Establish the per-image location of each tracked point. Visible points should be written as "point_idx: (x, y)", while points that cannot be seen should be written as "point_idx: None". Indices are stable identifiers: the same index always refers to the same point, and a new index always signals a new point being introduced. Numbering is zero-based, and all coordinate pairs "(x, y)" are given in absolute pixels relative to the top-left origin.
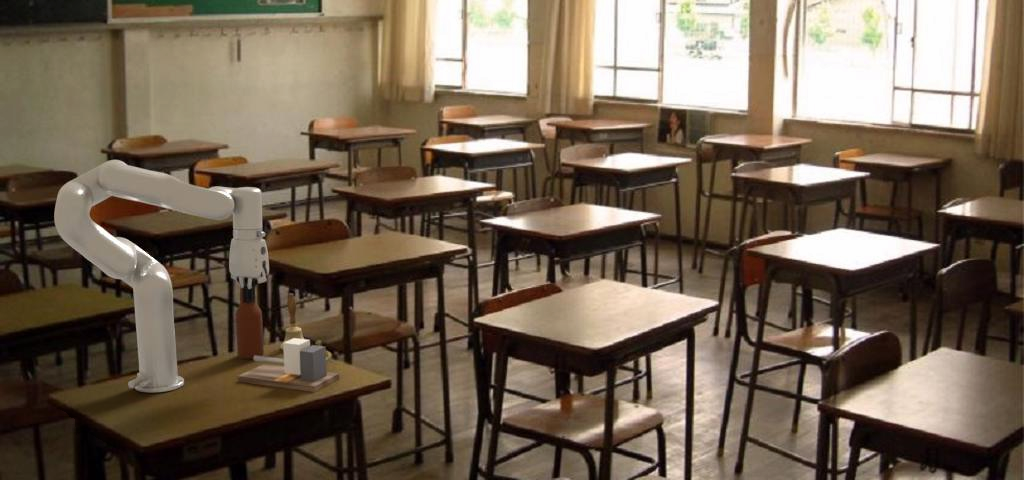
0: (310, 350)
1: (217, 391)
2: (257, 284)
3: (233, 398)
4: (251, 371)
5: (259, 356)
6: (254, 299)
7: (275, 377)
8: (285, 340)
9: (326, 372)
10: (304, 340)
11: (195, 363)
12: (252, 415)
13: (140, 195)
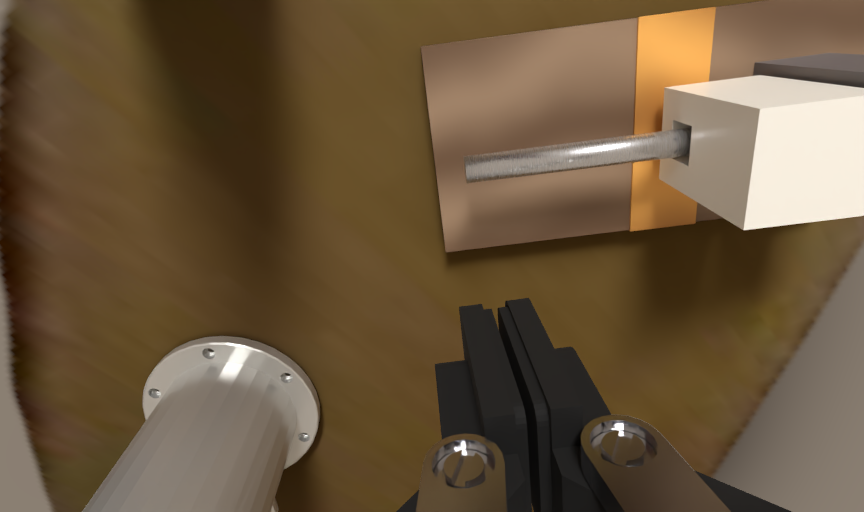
0: None
1: (460, 355)
2: (721, 497)
3: None
4: (452, 175)
5: (498, 173)
6: (531, 311)
7: (608, 190)
8: None
9: (841, 53)
10: (859, 120)
11: (67, 140)
12: (717, 452)
13: None
